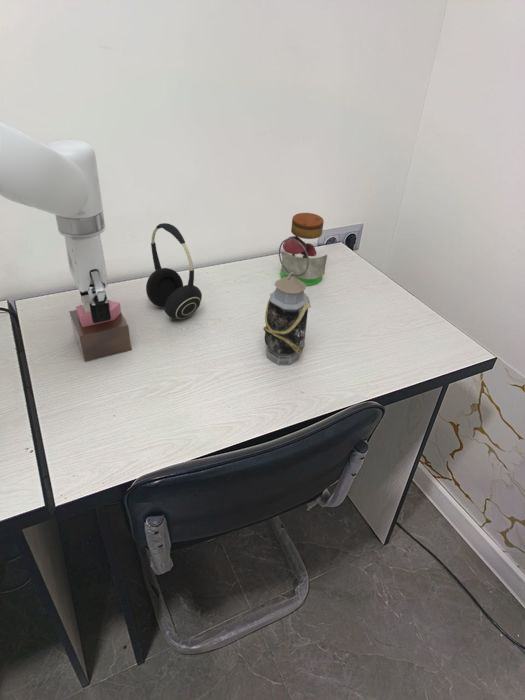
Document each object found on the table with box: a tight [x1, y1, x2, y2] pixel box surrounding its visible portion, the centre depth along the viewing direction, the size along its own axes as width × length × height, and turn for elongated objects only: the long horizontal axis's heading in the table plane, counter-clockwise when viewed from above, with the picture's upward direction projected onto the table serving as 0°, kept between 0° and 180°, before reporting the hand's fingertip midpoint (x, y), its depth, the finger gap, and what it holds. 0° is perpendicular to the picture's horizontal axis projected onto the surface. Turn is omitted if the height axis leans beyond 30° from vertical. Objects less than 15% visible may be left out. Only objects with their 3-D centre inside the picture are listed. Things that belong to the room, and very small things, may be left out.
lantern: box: [263, 237, 311, 366], centre depth 91 cm, size 9×8×25 cm
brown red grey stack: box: [279, 212, 328, 287], centre depth 120 cm, size 12×13×15 cm
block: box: [68, 309, 132, 363], centre depth 96 cm, size 9×9×6 cm
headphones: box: [145, 222, 203, 320], centre depth 102 cm, size 9×15×20 cm, turn 41°
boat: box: [75, 293, 122, 327], centre depth 93 cm, size 8×4×5 cm, turn 118°
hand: (95, 307), depth 93 cm, fingers open, 9 cm apart
